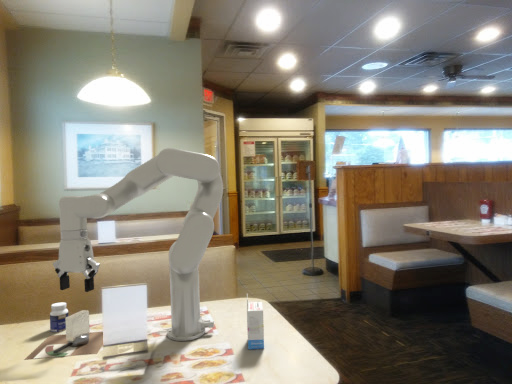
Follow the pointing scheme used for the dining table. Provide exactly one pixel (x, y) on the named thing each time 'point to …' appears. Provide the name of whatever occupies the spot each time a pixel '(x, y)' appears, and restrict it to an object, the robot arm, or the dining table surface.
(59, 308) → the pill bottle
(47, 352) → the brown flat square slab
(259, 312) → the ink box
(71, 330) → the white piece
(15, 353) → the dining table surface
